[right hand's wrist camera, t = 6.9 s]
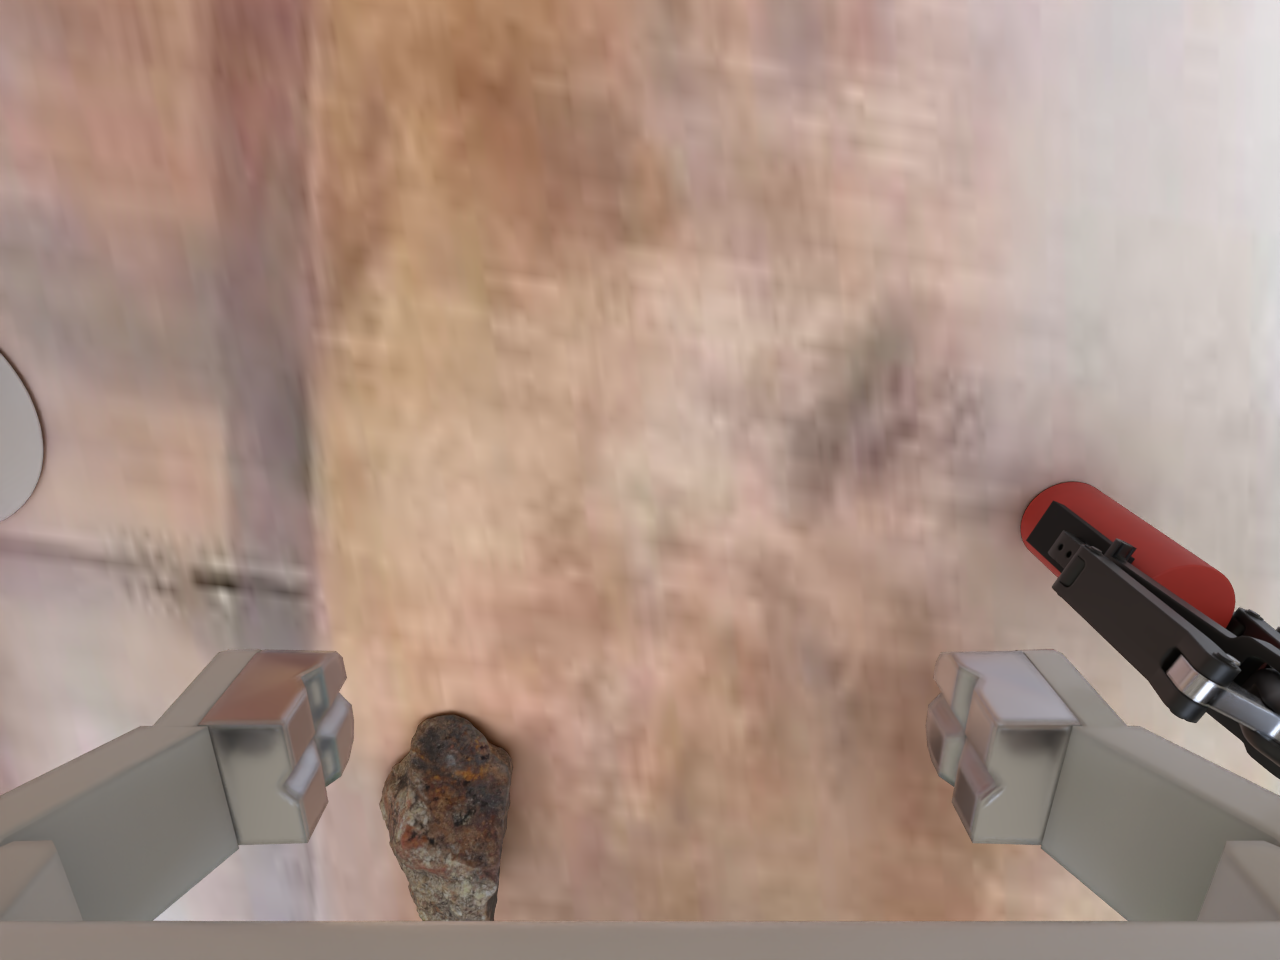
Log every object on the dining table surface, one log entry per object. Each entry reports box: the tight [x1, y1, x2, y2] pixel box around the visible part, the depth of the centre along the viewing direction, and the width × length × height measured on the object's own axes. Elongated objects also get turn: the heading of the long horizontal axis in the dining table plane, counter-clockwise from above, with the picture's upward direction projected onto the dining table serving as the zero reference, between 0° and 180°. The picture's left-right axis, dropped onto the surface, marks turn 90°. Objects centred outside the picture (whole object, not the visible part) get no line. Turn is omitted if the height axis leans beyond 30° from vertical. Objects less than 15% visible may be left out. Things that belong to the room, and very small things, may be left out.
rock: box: [380, 715, 513, 921], centre depth 50 cm, size 14×9×10 cm
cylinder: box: [1021, 482, 1235, 628], centre depth 41 cm, size 5×5×10 cm
